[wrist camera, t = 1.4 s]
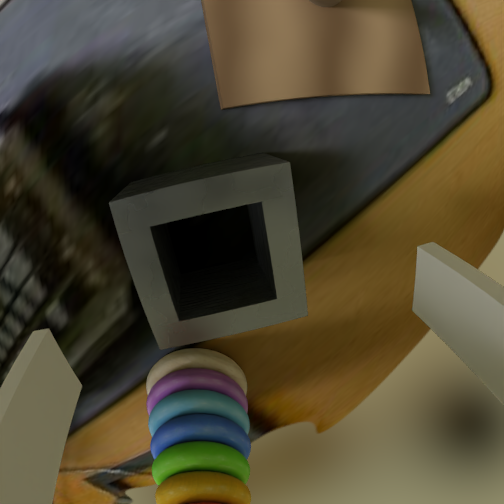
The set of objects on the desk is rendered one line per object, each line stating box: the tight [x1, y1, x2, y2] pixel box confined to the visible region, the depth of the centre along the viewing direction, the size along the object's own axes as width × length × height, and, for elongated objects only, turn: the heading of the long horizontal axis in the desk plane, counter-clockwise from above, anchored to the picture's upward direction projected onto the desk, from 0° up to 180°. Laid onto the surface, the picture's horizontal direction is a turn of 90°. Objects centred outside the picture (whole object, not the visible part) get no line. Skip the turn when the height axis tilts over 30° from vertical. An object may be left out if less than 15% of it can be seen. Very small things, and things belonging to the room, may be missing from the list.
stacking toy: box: [146, 348, 251, 504], centre depth 15 cm, size 8×8×19 cm
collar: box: [109, 153, 308, 350], centre depth 17 cm, size 8×8×6 cm
